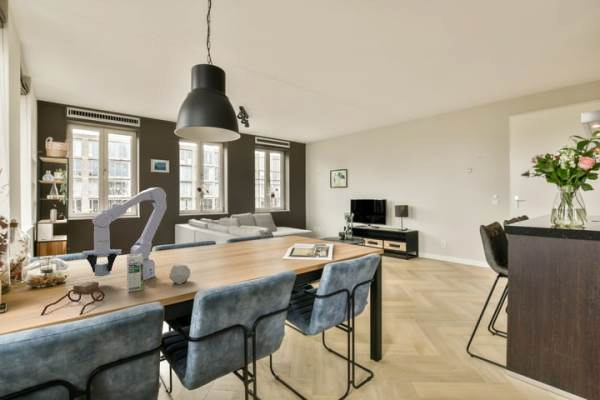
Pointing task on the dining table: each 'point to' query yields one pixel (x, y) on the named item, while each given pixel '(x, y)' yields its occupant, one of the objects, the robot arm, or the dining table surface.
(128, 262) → the syrup box
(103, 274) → the slate cube
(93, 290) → the glasses
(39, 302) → the dining table surface
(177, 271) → the die
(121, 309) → the dining table surface
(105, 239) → the robot arm
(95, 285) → the walnut slab
